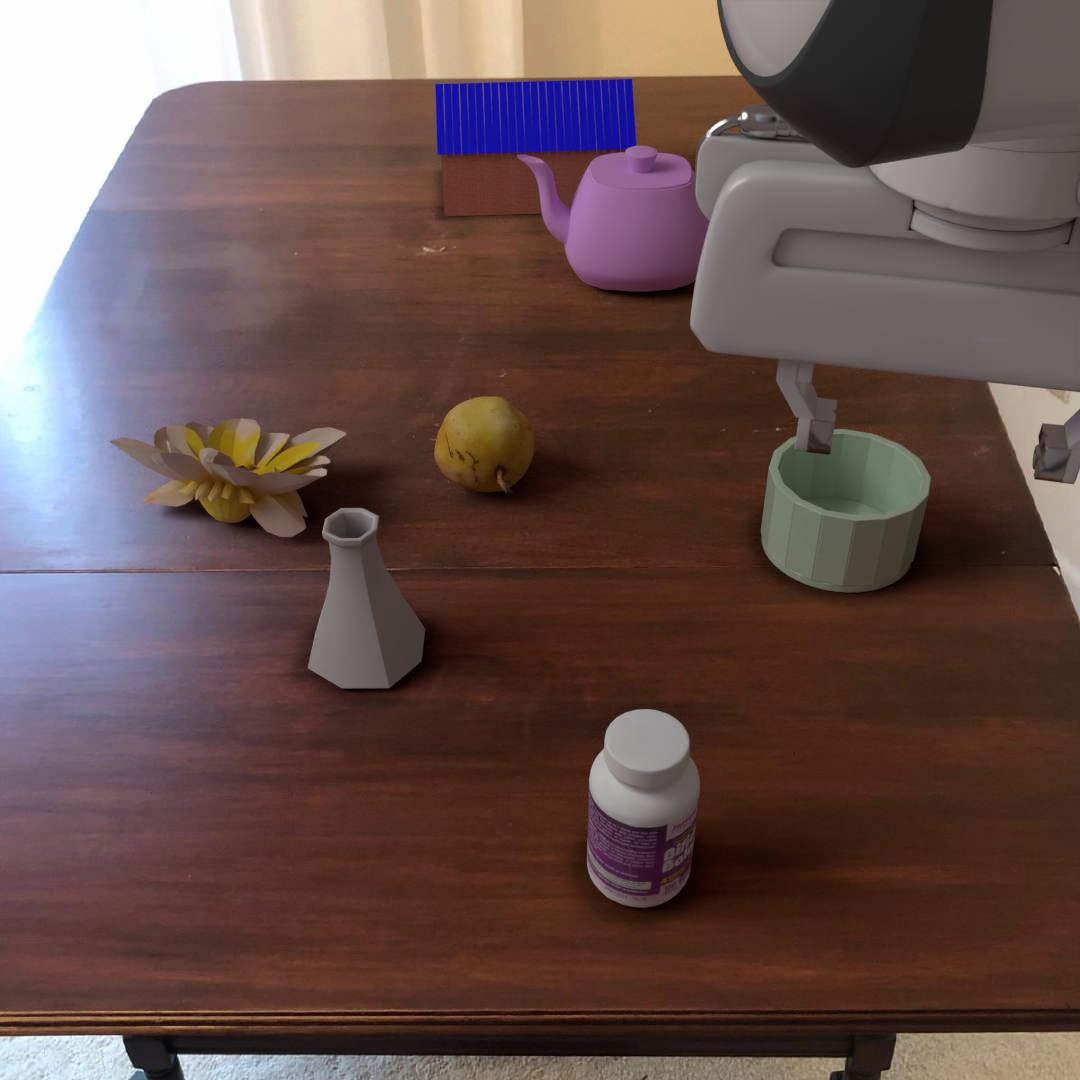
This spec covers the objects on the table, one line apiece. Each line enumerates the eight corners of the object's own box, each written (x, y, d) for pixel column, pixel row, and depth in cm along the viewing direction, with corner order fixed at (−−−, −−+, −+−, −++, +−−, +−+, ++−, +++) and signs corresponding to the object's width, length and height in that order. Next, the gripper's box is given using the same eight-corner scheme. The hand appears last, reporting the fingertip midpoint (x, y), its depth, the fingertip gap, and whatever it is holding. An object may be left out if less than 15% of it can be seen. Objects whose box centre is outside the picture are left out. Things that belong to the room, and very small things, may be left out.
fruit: (558, 446, 83) (527, 370, 90) (459, 438, 81) (436, 361, 88) (534, 526, 87) (506, 447, 94) (439, 520, 84) (419, 440, 92)
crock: (945, 564, 81) (964, 491, 78) (821, 611, 78) (834, 537, 74) (849, 484, 89) (862, 414, 85) (731, 524, 85) (739, 453, 81)
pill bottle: (683, 921, 60) (696, 793, 54) (577, 901, 61) (579, 772, 55) (697, 835, 64) (711, 707, 58) (598, 816, 65) (602, 689, 59)
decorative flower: (393, 456, 89) (354, 352, 81) (321, 574, 83) (272, 474, 75) (223, 426, 94) (172, 326, 87) (144, 535, 88) (81, 438, 80)
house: (442, 173, 135) (436, 65, 128) (622, 167, 136) (626, 60, 129) (441, 217, 126) (434, 104, 119) (634, 212, 127) (638, 98, 119)
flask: (287, 678, 74) (262, 549, 68) (340, 602, 79) (322, 476, 73) (397, 705, 72) (382, 575, 66) (444, 626, 77) (434, 499, 71)
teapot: (723, 240, 121) (733, 122, 114) (737, 304, 111) (750, 178, 103) (521, 241, 121) (518, 123, 114) (517, 304, 111) (513, 179, 104)
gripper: (687, 131, 41) (665, 470, 49) (1361, 181, 37) (1210, 540, 45) (711, 72, 46) (687, 391, 54) (1309, 110, 42) (1182, 447, 50)
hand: (930, 459), depth 50 cm, fingers open, 8 cm apart
